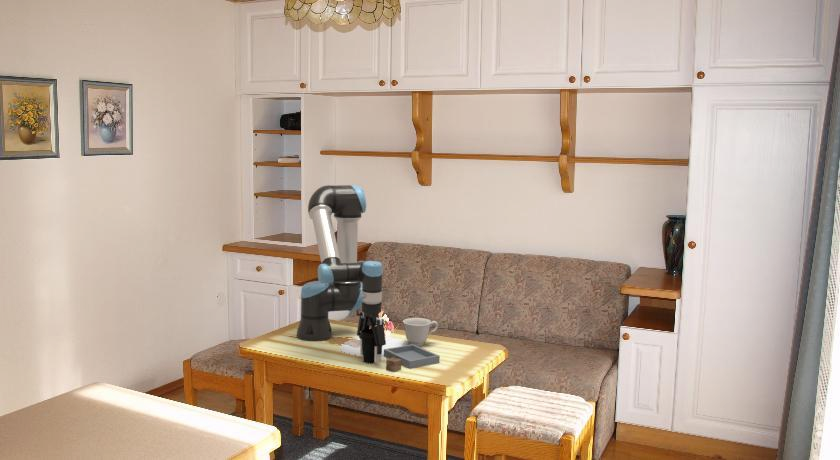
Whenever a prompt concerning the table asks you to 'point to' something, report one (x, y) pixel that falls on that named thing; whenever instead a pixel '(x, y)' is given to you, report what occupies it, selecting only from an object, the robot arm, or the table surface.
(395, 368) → the walnut block
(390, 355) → the tray
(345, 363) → the table surface
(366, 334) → the cup
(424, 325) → the teacup
